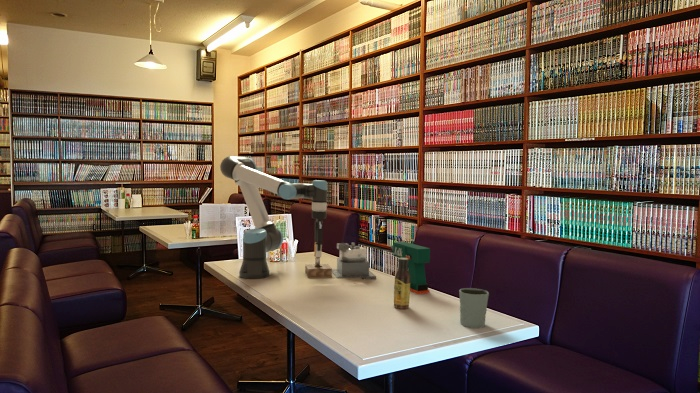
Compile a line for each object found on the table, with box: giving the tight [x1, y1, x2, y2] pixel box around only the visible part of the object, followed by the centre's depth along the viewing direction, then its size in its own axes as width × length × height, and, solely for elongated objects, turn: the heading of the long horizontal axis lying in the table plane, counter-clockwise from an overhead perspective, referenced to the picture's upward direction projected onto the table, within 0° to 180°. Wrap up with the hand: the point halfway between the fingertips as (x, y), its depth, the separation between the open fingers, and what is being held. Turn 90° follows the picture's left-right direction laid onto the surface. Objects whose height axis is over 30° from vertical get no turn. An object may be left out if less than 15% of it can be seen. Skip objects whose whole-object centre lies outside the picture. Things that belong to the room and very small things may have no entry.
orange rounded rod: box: [313, 241, 323, 266], centre depth 246 cm, size 4×4×12 cm
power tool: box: [389, 241, 431, 295], centre depth 229 cm, size 32×7×20 cm, turn 25°
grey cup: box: [458, 287, 490, 329], centre depth 172 cm, size 10×10×12 cm
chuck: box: [336, 242, 368, 262], centre depth 249 cm, size 15×14×9 cm
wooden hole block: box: [304, 263, 333, 278], centre depth 246 cm, size 12×12×5 cm
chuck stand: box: [332, 257, 377, 280], centre depth 250 cm, size 20×20×8 cm
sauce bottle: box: [393, 257, 411, 310], centre depth 192 cm, size 7×6×20 cm
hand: (317, 256), depth 246 cm, fingers closed on orange rounded rod, 3 cm apart
